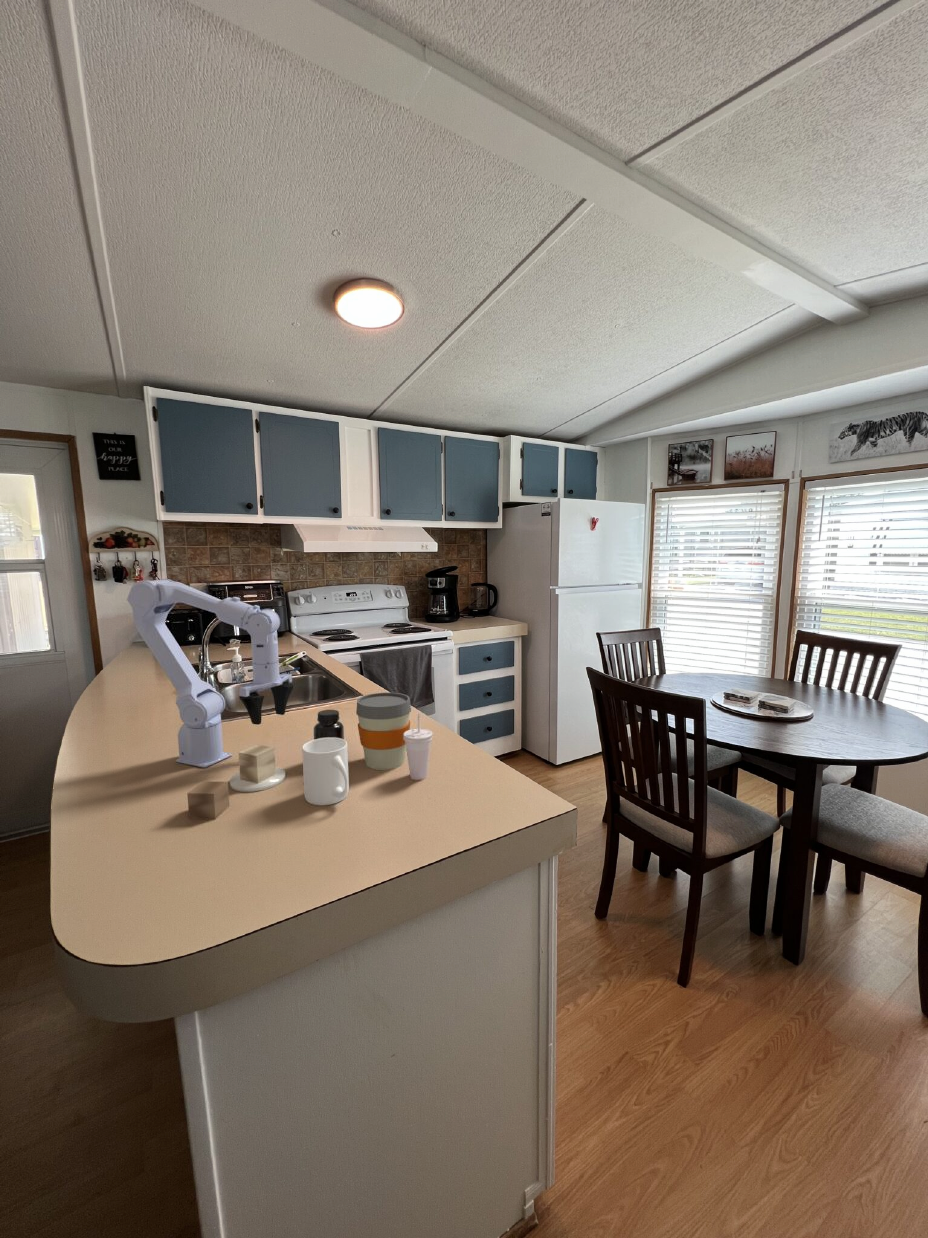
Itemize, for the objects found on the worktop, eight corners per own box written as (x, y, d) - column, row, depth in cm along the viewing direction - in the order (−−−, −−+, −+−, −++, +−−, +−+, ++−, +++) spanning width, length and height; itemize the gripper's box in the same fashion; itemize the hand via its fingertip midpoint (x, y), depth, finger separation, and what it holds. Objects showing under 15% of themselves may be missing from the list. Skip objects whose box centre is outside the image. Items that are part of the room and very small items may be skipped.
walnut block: (189, 819, 94) (187, 793, 93) (204, 806, 99) (202, 781, 98) (215, 819, 94) (213, 793, 93) (229, 806, 99) (227, 781, 98)
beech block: (240, 779, 108) (238, 752, 108) (258, 770, 113) (256, 744, 112) (258, 783, 106) (256, 756, 106) (275, 774, 111) (274, 747, 110)
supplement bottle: (336, 769, 115) (334, 717, 114) (309, 766, 117) (306, 716, 115) (349, 757, 122) (347, 708, 121) (323, 755, 124) (321, 707, 122)
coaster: (218, 786, 107) (217, 783, 107) (258, 766, 117) (258, 763, 117) (258, 796, 103) (258, 792, 103) (296, 774, 113) (296, 771, 113)
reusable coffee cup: (401, 748, 128) (400, 689, 126) (420, 766, 117) (419, 702, 115) (351, 757, 122) (349, 696, 120) (366, 777, 111) (364, 710, 109)
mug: (326, 818, 94) (324, 762, 93) (296, 796, 102) (294, 744, 101) (366, 802, 100) (365, 749, 98) (335, 783, 108) (333, 734, 107)
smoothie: (438, 773, 113) (437, 711, 111) (424, 784, 107) (423, 720, 106) (413, 768, 116) (412, 708, 114) (398, 779, 110) (396, 716, 108)
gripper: (254, 669, 110) (258, 730, 112) (300, 657, 124) (303, 712, 125) (230, 667, 113) (234, 726, 115) (278, 655, 126) (280, 708, 128)
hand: (268, 718), depth 120 cm, fingers open, 7 cm apart
